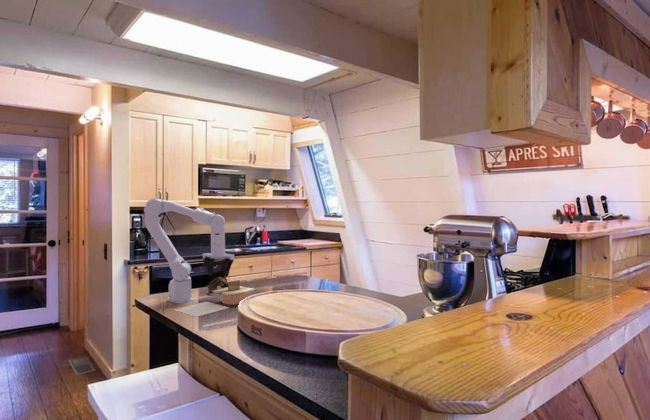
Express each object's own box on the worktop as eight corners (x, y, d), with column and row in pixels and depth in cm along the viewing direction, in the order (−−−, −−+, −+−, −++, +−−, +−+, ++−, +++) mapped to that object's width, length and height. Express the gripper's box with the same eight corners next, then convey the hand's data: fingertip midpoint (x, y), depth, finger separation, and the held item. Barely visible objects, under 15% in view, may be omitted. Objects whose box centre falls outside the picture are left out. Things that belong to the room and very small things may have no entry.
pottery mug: (230, 296, 185) (220, 281, 183) (212, 305, 186) (202, 290, 184) (236, 284, 196) (227, 269, 194) (219, 292, 198) (210, 278, 196)
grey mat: (173, 310, 161) (173, 309, 161) (206, 302, 173) (206, 301, 173) (196, 317, 152) (196, 316, 152) (229, 308, 164) (229, 307, 164)
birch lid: (212, 292, 172) (212, 282, 172) (235, 286, 182) (235, 277, 181) (232, 296, 165) (232, 285, 165) (255, 290, 174) (254, 280, 174)
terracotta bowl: (217, 302, 173) (216, 291, 173) (236, 297, 180) (236, 287, 180) (232, 306, 166) (232, 295, 166) (252, 301, 174) (251, 290, 174)
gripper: (197, 244, 176) (198, 276, 177) (227, 245, 171) (227, 278, 172) (208, 242, 183) (208, 273, 183) (236, 243, 178) (237, 275, 178)
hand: (218, 275), depth 178 cm, fingers open, 7 cm apart
